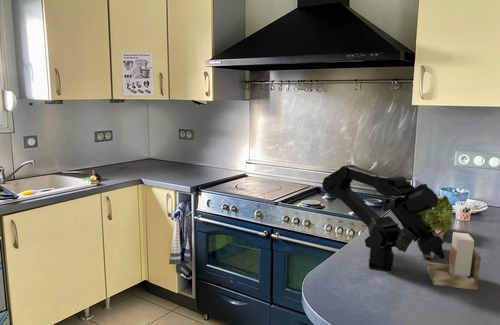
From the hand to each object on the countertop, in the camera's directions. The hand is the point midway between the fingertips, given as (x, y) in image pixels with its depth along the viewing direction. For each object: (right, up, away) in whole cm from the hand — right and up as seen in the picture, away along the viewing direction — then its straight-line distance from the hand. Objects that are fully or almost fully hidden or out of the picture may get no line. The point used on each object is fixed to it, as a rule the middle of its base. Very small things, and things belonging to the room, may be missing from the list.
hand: (443, 257), depth 119 cm
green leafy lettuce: (+14, 0, +42) cm, 44 cm away
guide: (+3, -6, +1) cm, 7 cm away
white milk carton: (+4, -5, 0) cm, 7 cm away
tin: (+5, -4, +19) cm, 20 cm away
